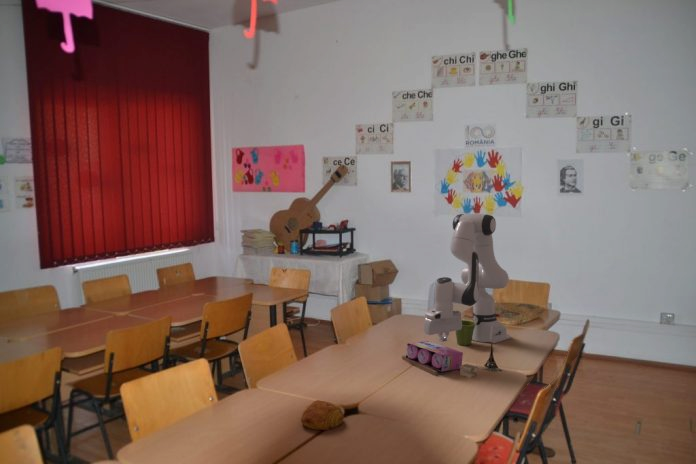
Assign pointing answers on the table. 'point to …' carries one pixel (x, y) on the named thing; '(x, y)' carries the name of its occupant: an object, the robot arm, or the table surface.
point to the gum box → (434, 355)
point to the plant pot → (465, 333)
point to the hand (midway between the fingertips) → (443, 341)
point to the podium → (427, 368)
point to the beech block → (468, 370)
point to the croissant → (322, 415)
